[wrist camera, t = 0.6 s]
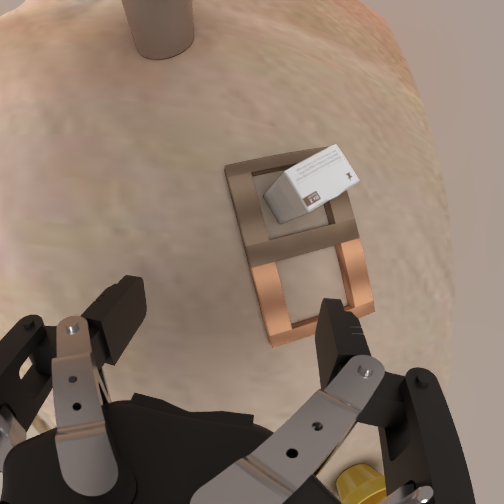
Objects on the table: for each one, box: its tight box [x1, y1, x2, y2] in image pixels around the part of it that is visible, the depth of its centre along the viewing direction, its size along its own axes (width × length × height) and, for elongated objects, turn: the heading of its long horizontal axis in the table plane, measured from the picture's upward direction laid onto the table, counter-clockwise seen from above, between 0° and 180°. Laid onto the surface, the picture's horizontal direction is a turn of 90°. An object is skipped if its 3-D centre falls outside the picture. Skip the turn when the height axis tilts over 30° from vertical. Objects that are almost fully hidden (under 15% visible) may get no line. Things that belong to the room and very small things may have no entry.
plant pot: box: [336, 464, 387, 504], centre depth 31 cm, size 10×10×10 cm
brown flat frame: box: [225, 146, 375, 347], centre depth 34 cm, size 22×14×2 cm, turn 15°
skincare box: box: [263, 144, 359, 224], centre depth 29 cm, size 6×4×12 cm
